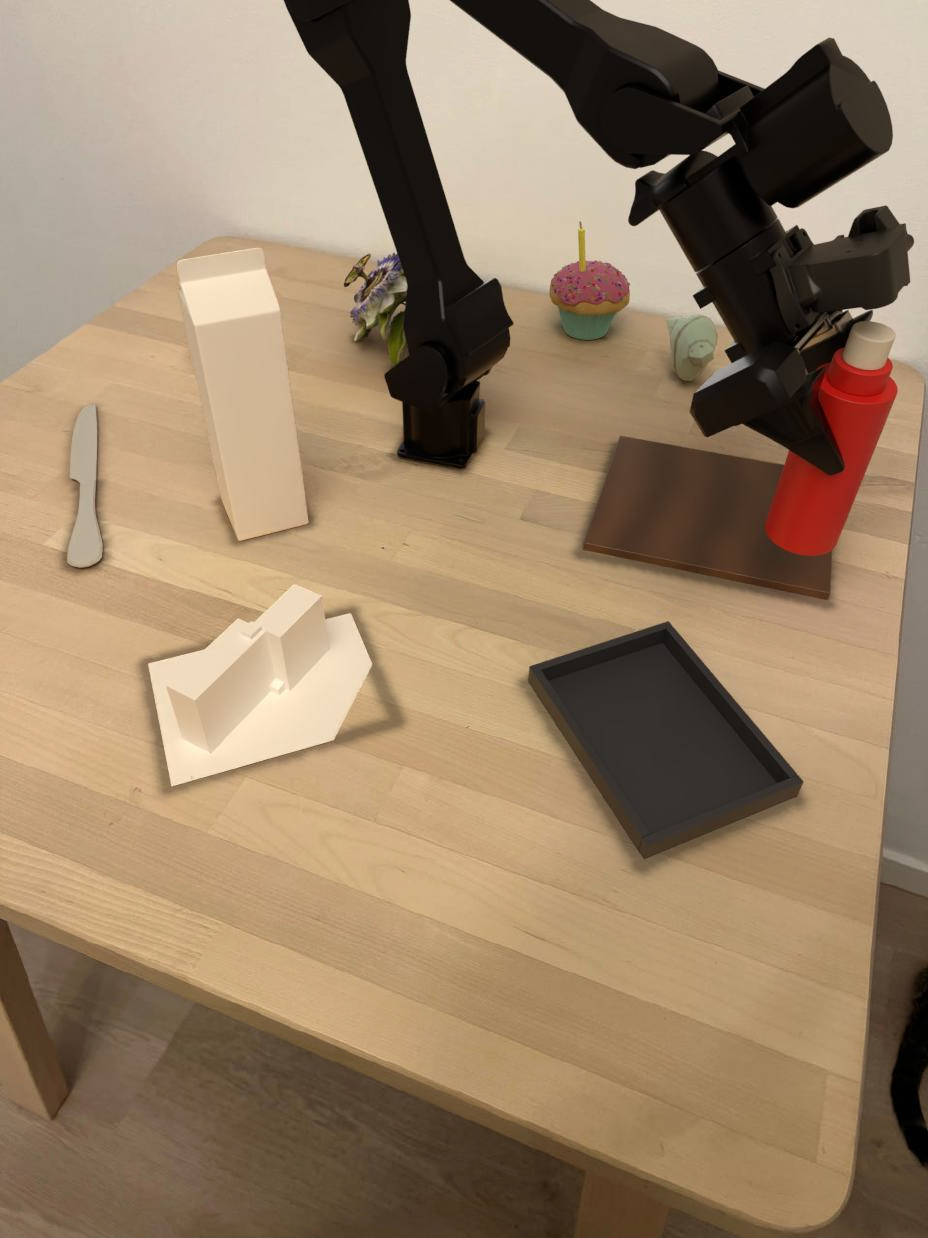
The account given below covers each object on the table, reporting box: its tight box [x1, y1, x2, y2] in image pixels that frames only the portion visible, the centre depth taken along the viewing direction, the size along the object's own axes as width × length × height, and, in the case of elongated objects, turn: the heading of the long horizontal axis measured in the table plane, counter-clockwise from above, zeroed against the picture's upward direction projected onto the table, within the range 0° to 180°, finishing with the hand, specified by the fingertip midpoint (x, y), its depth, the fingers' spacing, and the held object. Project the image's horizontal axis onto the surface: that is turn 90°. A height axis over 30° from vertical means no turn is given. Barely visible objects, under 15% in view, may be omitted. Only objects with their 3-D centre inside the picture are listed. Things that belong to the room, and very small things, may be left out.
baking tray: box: [527, 620, 804, 860], centre depth 61 cm, size 15×11×2 cm
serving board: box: [582, 435, 833, 601], centre depth 78 cm, size 19×16×1 cm
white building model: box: [147, 583, 374, 787], centre depth 62 cm, size 15×11×6 cm
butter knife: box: [66, 403, 104, 569], centre depth 81 cm, size 1×24×3 cm
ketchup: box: [765, 320, 898, 556], centre depth 63 cm, size 5×5×16 cm
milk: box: [176, 247, 310, 542], centre depth 70 cm, size 6×6×22 cm
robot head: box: [665, 313, 718, 382], centre depth 92 cm, size 8×4×7 cm, turn 16°
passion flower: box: [343, 252, 407, 367], centre depth 97 cm, size 11×11×12 cm
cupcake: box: [548, 220, 631, 341], centre depth 98 cm, size 9×8×12 cm
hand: (851, 453), depth 62 cm, fingers closed on ketchup, 5 cm apart
